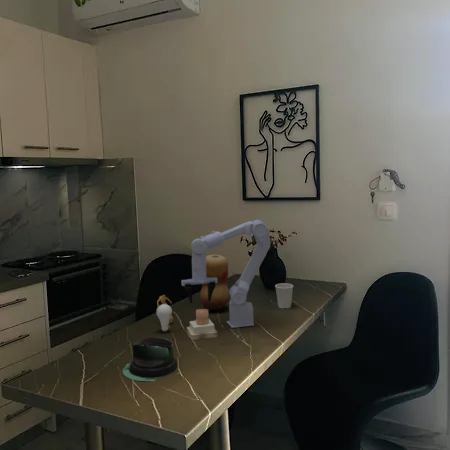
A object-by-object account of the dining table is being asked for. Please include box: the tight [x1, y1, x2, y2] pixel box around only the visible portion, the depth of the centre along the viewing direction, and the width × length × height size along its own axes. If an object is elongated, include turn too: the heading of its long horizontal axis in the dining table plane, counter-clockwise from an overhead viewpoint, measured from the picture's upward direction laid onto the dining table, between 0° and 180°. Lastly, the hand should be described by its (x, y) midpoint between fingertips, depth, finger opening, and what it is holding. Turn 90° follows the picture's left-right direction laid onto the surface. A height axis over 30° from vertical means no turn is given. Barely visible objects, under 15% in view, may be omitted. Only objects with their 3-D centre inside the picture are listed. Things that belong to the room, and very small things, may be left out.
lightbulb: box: [156, 303, 173, 332], centre depth 188 cm, size 6×6×11 cm
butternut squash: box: [199, 253, 230, 311], centre depth 214 cm, size 14×13×25 cm
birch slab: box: [186, 326, 218, 341], centre depth 184 cm, size 10×10×2 cm
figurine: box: [156, 294, 174, 324], centre depth 198 cm, size 8×6×12 cm
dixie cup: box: [274, 282, 294, 310], centre depth 216 cm, size 8×8×10 cm
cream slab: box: [189, 318, 216, 334], centre depth 184 cm, size 8×8×2 cm
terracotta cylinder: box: [195, 308, 210, 325], centre depth 183 cm, size 5×5×5 cm
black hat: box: [122, 337, 180, 382], centre depth 154 cm, size 20×20×9 cm
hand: (200, 301), depth 192 cm, fingers open, 7 cm apart
